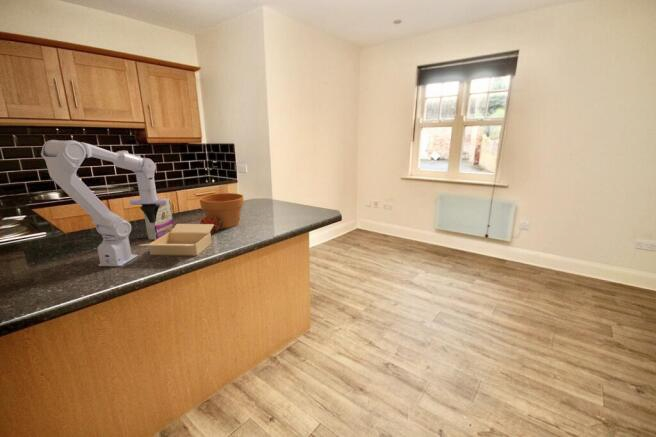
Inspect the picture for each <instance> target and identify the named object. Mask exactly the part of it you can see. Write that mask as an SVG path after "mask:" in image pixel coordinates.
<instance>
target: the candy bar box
mask: <svg viewBox="0 0 656 437" xmlns="http://www.w3.org/2000/svg"><path fill="white" fill-rule="evenodd" d="M163 199H164V200H169V205H160V207H159V209H158V212H157V216H156V222H154V223H150V222H149V220H148V218H147V216H146V215H145V213H144V212H143V218H144V221H145V227H146V233H147V237H148V238H147V239H148V240H151V241H155V240H156V239H158V238H160V237H162V236H163V235H165V234H167V233H168V232H171V231H172V230H173V228H174V227H175V226H174V219H173V214H172V206H171V200H170V198H163Z"/></svg>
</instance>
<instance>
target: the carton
mask: <svg viewBox="0 0 656 437" xmlns="http://www.w3.org/2000/svg"><path fill="white" fill-rule="evenodd" d="M149 244H194V246H148V248H149V254H150V256H187V257H188V256H189V257H190V256H193V257H194V256H195V257H196V256H199V255H200V254H201V253H202V252H203V251H204V250H205V249H207V248H208V246H210V245H211V244H212V235H211V232H210V233H171V232H168V233H167V234H165V235H163V236H162V237H160V238H158V239H156V240H152V242H150V243H149Z"/></svg>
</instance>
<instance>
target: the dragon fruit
mask: <svg viewBox="0 0 656 437" xmlns="http://www.w3.org/2000/svg"><path fill="white" fill-rule="evenodd" d="M199 224H214V226H213V227H212V229H211V231H210V233H211V234H213V233H216V232H217V231H218V230H219V229H222V228H221V226H222V220H221V219H219V218H218V217H215V218H214V217H213V216H211V217H209V218H208V217H206V216H205V217H204V218H203V219H201V220H200V223H199Z"/></svg>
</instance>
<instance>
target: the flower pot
mask: <svg viewBox="0 0 656 437" xmlns="http://www.w3.org/2000/svg"><path fill="white" fill-rule="evenodd" d="M199 204H200V208H201V209H203V212H204V214H205V217H208V218H209V217H211V216H213V217H214V218H215V217H218V218H219V219H221V220H222V226H221V228H220V229H228V228H234V227H236V226H238V225H239V224H240V218H241V213H242V207H243V206H244V195H243V194H241V193H236V192H234V193H233V192H232V193H230V192H221V193H212V194H207V195H203V196H201V197H199Z"/></svg>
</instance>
